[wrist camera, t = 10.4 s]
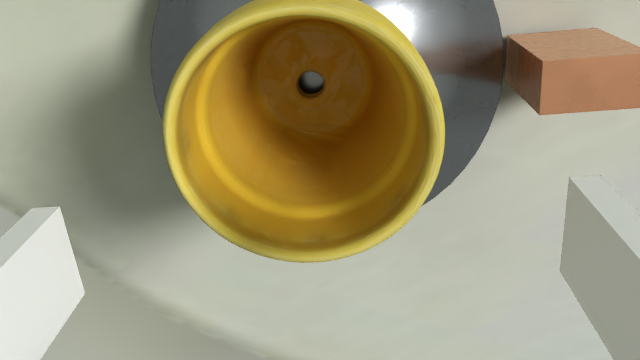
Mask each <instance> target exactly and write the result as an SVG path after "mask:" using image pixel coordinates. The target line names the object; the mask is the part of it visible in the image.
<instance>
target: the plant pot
mask: <svg viewBox="0 0 640 360" xmlns="http://www.w3.org/2000/svg"><path fill="white" fill-rule="evenodd" d="M309 71H313V72H316V73H318V74H319V75H320V76H321V77H322V78H323V80H324V85H323V88H322V89H321V90H320V91H319V92H317V93H314V94H307V93H305V92H303V91H302V90H301V88H300V86H299V79H300V76H301V75H302V74H304V73H305V72H309ZM163 140H164V147H165V152H166V157H167V161H168V165H169V168H170V170H171V173H172V176H173V178H174V181H175V183H176V185H177V187H178V188H179V190H180V192H181V194H182V196H183V197H184V198H185V200H186V201H187V203H188V204H189V206H190V207H191V208H192V209H193V211H194V212H195V213H196V214H197V215H198V216H199V217H200V218H201V219H202V220H203V221H204V222H205V223H206V224H207V225H208V226H209V227H210V228H211V229H212V230H214V231H215V232H216V233H218V234H219V235H220V236H222V237H223V238H225V239H226V240H228V241H229V242H231V243H233V244H235V245H237V246H238V247H241V248H243V249H245V250H247V251H250V252H253V253H255V254H258V255H261V256H264V257H268V258H272V259H276V260H283V261H289V262H301V263H310V262H325V261H332V260H337V259H341V258H345V257H349V256H352V255H355V254H358V253H361V252H363V251H366V250H368V249H370V248H372V247H374V246H376V245H378V244H380V243H381V242H383V241H384V240H386V239H388V238H389V237H390V236H392V235H393V234H394V233H396V232H397V231H398V230H400V229H401V228H402V227H403V226H404V225H405V224H406V223H407V222H408V221H409V220H410V219H411V218H412V217H413V215H414V214H415V213H416V212H417V211H418V210H419V208H420V207H421V206H422V204H423V203H424V201H425V200H426V198H427V196H428V195H429V193H430V191H431V189H432V187H433V185H434V183H435V180H436V178H437V176H438V173H439V169H440V166H441V163H442V158H443V153H444V145H445V122H444V114H443V108H442V104H441V100H440V97H439V93H438V90H437V88H436V85H435V83H434V81H433V78H432V76H431V74H430V72H429V70H428V68H427V66H426V64H425V62H424V61H423V59H422V58H421V56H420V54H419V53H418V51H417V50H416V48H415V47H414V46H413V44H412V43H411V42H410V40H409V39H408V38H407V37H406V36H405V34H404V33H403V32H402V31H401V30H400V29H399V28H398V27H397V26H396V25H395V24H394V23H393V22H392V21H390V20H389V19H388V18H387V17H386V16H384V15H383V14H382V13H380V12H379V11H377V10H376V9H374V8H372V7H370V6H369V5H367V4H365V3H363V2H361V1H358V0H254V1H251V2H249V3H247V4H245V5H243V6H242V7H240V8H238V9H236V10H235V11H233V12H232V13H230V14H228V15H227V16H226V17H224V18H223V19H222V20H220V21H219V22H218V23H217V24H215V25H214V26H213V27H212V28H211V29H210V30H209V31H208V32H207V33H206V34H205V35H204V36H203V37H202V38H201V39H200V40H199V41H198V42H197V43H196V44H195V45H194V46H193V48H192V49H191V50H190V51H189V53H188V54H187V55H186V57H185V58H184V60H183V61H182V63H181V65H180V66H179V68H178V70H177V72H176V74H175V76H174V78H173V80H172V83H171V85H170V88H169V91H168V94H167V97H166V102H165V107H164V114H163Z"/></svg>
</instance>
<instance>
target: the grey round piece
mask: <svg viewBox="0 0 640 360" xmlns="http://www.w3.org/2000/svg"><path fill="white" fill-rule="evenodd" d="M251 1H254V0H161V1H160V4H159V7H158V11H157V15H156V19H155V22H154V28H153V36H152V44H151V73H152V80H153V87H154V94H155V97H156V101H157V105H158V108H159V112H160V115H161V117H162V120H163V114H164V107H165V102H166V97H167V94H168V91H169V88H170V85H171V83H172V80H173V78H174V76H175V74H176V72H177V70H178V68H179V66H180V65H181V63H182V61H183V60H184V58H185V57H186V55H187V54H188V53H189V51H190V50H191V49H192V48H193V46H194V45H195V44H196V43H197V42H198V41H199V40H200V39H201V38H202V37H203V36H204V35H205V34H206V33H207V32H208V31H209V30H210V29H211V28H212V27H213V26H214V25H215V24H217V23H218V22H219V21H220V20H222V19H223V18H224V17H226V16H227V15H228V14H230V13H232V12H233V11H235V10H236V9H238V8H240V7H242V6H243V5H245V4H247V3H249V2H251ZM358 1H361V2H363V3H365V4H367V5H369V6H370V7H372V8H374V9H376V10H377V11H379V12H380V13H382V14H383V15H384V16H386V17H387V18H388V19H389V20H390V21H392V22H393V23H394V24H395V25H396V26H397V27H398V28H399V29H400V30H401V31H402V32H403V33H404V34H405V36H406V37H407V38H408V39H409V40H410V42H411V43H412V44H413V46H414V47H415V48H416V50H417V51H418V53H419V54H420V56H421V58H422V59H423V61H424V62H425V64H426V66H427V68H428V70H429V72H430V74H431V76H432V78H433V81H434V83H435V85H436V88H437V90H438V93H439V97H440V100H441V104H442V108H443V114H444V122H445V145H444V153H443V158H442V163H441V166H440V169H439V173H438V176H437V178H436V180H435V183H434V185H433V187H432V189H431V191H430V193H429V195H428V196H427V198H426V200H425V201H424V203H423V204H422V205H424V204H425V203H427V202H428V201H430V200H431V199H433V198H434V197H436V196H437V195H438V194H439V193H440V192H441V191H443V190H444V189H445V188H446V187H447V186H449V185H450V184H451V183H452V182H453V181H454V179H455V178H456V177H457V176H458V175H459V174H460V173H461V172H462V171H463V170H464V169H465V167H466V166H467V165H468V163H469V162H470V160H471V159H472V158H473V156H474V155H475V153H476V152H477V151H478V149H479V147H480V145H481V143H482V141H483V139H484V138H485V136H486V134H487V132H488V130H489V127H490V124H491V122H492V119H493V117H494V114H495V111H496V108H497V104H498V100H499V95H500V91H501V86H502V76H503V66H504V63H503V40H502V34H501V28H500V22H499V17H498V14H497V11H496V8H495V5H494V1H493V0H358ZM505 81H506V82H507V83H508V84H509V85H510V86H511V87H512V88H513V89H514V90H515V91H516V92H517V93H518V94H519V95H520V96H521V97H522V98H523V99H524V100H525V101H526V102H527V103H528V104H529V105H530V106H531V107H532V108H533V109H534V110H535V111H536V112H537V113H538V114H539V115H548V114H562V113H576V112H589V111H603V110H617V109H631V108H640V47H638V46H636V45H634V44H631V43H629V42H627V41H625V40H622V39H620V38H618V37H616V36H613V35H611V34H609V33H607V32H604V31H602V30H600V29H598V28H589V29H577V30H564V31H552V32H540V33H527V34H515V35H507V49H506V74H505ZM323 85H324V80H323V78H322V77H321V76H320V75H319V74H318V73H316V72H313V71H309V72H305V73H304V74H302V75H301V76H300V79H299V86H300V88H301V90H302V91H303V92H305V93H307V94H314V93H317V92H319V91H320V90H321V89H322V88H323Z"/></svg>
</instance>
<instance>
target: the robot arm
mask: <svg viewBox="0 0 640 360" xmlns="http://www.w3.org/2000/svg"><path fill="white" fill-rule="evenodd" d="M560 272H561V274H562V275H563V277H564V279H565V280H566V282H567V283H568V285H569V287H570V288H571V290H572V292H573V293H574V295H575V297H576V298H577V300H578V302H579V303H580V305H581V307H582V308H583V310H584V312H585V313H586V315H587V316H588V318H589V320H590V321H591V323H592V325H593V326H594V328H595V330H596V331H597V333H598V335H599V336H600V338H601V340H602V341H603V343H604V344H605V346H606V348H607V349H608V351H609V353H610V354H611V356H612V358H613V359H614V360H640V215H639V214H638V213H637V212H636V211H635V210H634V209H633V208H632V207H631V206H630V205H629V204H628V203H627V202H626V201H625V199H624V198H623V197H622V196H621V195H620V194H619V193H618V192H617V191H616V190H615V189H614V188H613V187H612V186H611V185H610V184H609V183H608V182H607V181H606V180H605V179H604V178H603V177H602V176H601V175H597V176H580V177H569V184H568V194H567V204H566V214H565V224H564V234H563V244H562V254H561V264H560ZM84 294H85V292H84V288H83V285H82V282H81V278H80V275H79V271H78V268H77V264H76V261H75V257H74V254H73V250H72V247H71V244H70V240H69V237H68V233H67V230H66V226H65V223H64V219H63V216H62V213H61V209H60V206H59V207H41V208H31V209H30V210H29V211H28V212H27V213H26V214H25V215H24V216H23V217H22V218H21V219H20V220H19V221H18V222H17V223H15V224H14V226H12V227H11V228H10V229H9V230H8V231H7V232H6V233H5V234H4V235H3V236H2V237H1V238H0V360H40V359H41V358H42V356H43V355H44V353H45V352H46V350H47V349H48V347H49V346H50V344H51V343H52V341H53V340H54V338H55V337H56V335H57V334H58V333H59V331H60V330H61V328H62V327H63V325H64V324H65V322H66V321H67V319H68V318H69V316H70V315H71V313H72V312H73V310H74V309H75V307H76V306H77V304H78V303H79V302H80V300H81V299H82V297H83V296H84Z"/></svg>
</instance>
